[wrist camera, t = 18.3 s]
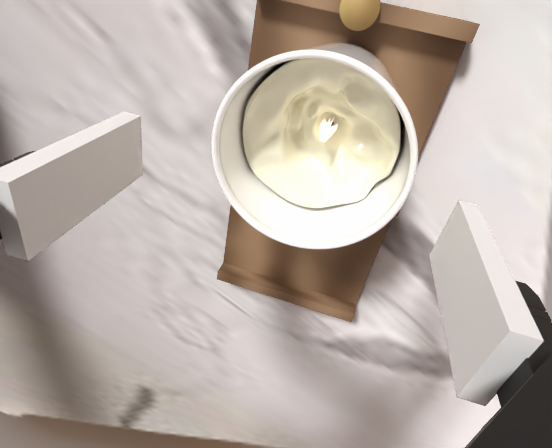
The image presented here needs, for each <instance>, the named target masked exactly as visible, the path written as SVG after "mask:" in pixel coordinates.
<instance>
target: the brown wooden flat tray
mask: <svg viewBox="0 0 552 448" xmlns="http://www.w3.org/2000/svg"><path fill="white" fill-rule="evenodd" d="M479 25H480V24H477V23H473V22H469V21H464V20H460V19H455V18H451V17H446V16H441V15H437V14H432V13H427V12H423V11H418V10H414V9H409V8H404V7H400V6H395V5H391V4H386V3H381V2H380V0H257V5H256V13H255V20H254V28H253V36H252V44H251V52H250V59H249V67H248V70H250V69H251V68H252V67H254V66H255V65H257V64H259V63H260V62H262V61H264V60H266V59H268V58H271V57H273V56H276V55H279V54H282V53H286V52H290V51H296V50H304V49H308V48H311V47H315V46H319V45H323V44H328V43H348V44H353V45H356V46H359V47H362V48H364V49H366V50H368V51H369V52H371V53H372V54H373V55H375V56H376V57H377V58H378V59H379V60H380V61H381V62H382V63H383V65H384V66H385V67H386V69H387V70H388V72H389V74H390V76H391V78H392V80H393V82H394V84H395V86H396V89H397V91H398V93H399V95H400V97H401V98H402V100H403V102H404V103H405V105H406V107H407V109H408V111H409V113H410V116H411V118H412V121H413V124H414V127H415V131H416V136H417V143H418V156H419V153H420V151H421V149H422V146H423V144H424V142H425V139H426V137H427V135H428V132H429V130H430V127H431V125H432V123H433V120H434V118H435V116H436V113H437V111H438V109H439V106H440V104H441V101H442V99H443V97H444V94H445V92H446V90H447V87H448V85H449V83H450V80H451V78H452V75H453V73H454V71H455V68H456V66H457V64H458V61H459V59H460V57H461V54H462V52H463V49H464V47H465V45H466V42H470V43H472V41H473V39H474V37H475V34H476V32H477V30H478V27H479ZM399 211H400V210H399ZM399 211H398V213H399ZM398 213H397V214H396V215H398ZM391 220H392V219H391ZM391 220H390V221H389V222H388V223H387V224H386V225H385V226H384V227H383V228H381V229H380V230H379V231H377V232H376V233H374V234H373V235H371V236H369V237H367V238H365V239H363V240H361V241H359V242H356V243H354V244H351V245H347V246H343V247H339V248H332V249H306V248H299V247H294V246H291V245H287V244H284V243H281V242H279V241H276V240H274V239H272V238H270V237H268V236H266V235H264V234H263V233H261V232H259V231H258V230H256V229H255V228H254V227H252V226H251V225H250V224H249V223H247V222H246V221H245V220H244V219H243V218H242V217H241V216H240V215H239V214H238V213H237V212H236V210H235V209H234V208H233V207H232V205H231V207H230V215H229V223H228V231H227V239H226V246H225V254H224V262H223V264H222V266H221V268H220V269H219V271H218V275H217V279H218V280H222V281H225V282H228V283H231V284H234V285H237V286H240V287H243V288H247V289H250V290H253V291H256V292H259V293H262V294H265V295H268V296H272V297H275V298H278V299H281V300H284V301H287V302H290V303H293V304H296V305H300V306H303V307H306V308H309V309H312V310H315V311H318V312H321V313H325V314H328V315H331V316H334V317H337V318H340V319H343V320H346V321H350V322H352V320H353V318H354V315H355V306H356V302H357V300H358V298H359V295H360V293H361V291H362V288H363V286H364V284H365V281H366V279H367V276H368V274H369V272H370V269H371V267H372V265H373V262H374V260H375V258H376V255H377V253H378V250H379V248H380V246H381V243H382V241H383V239H384V236H385V234H386V231H387V229H388V227H389V224H390V222H391Z"/></svg>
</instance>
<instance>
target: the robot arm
mask: <svg viewBox="0 0 552 448" xmlns="http://www.w3.org/2000/svg"><path fill="white" fill-rule="evenodd" d="M140 176H142V141H141V116H139V115H135V114H132V113H128V112H122V113H119V114H117V115H115V116H113V117H111V118H108V119H106V120H104V121H102V122H99V123H97V124H95V125H93V126H91V127H88V128H86V129H84V130H82V131H80V132H77V133H75V134H73V135H71V136H69V137H66V138H64V139H62V140H60V141H57V142H55V143H53V144H51V145H49V146H46V147H44V148H42V149H40V150H37V151H32V152H28V153H25V154H23V155H21V156H19V157H16V158H14V160H10V161H7V162H5V163H4V164H3V165H2V164H1V165H0V240H1V239H2V242H3V246H4V249H5V252H6V255H10V256H13V257H16V258H19V259H22V260H25V261H29V260H31V259H32V258H33V257H35V256H36V255H37V254H39V253H40V252H41V251H42V250H44V249H45V248H46V247H48V246H49V245H50V244H52V243H53V242H54V241H56V240H57V239H58V238H60V237H61V236H62V235H64V234H65V233H66V232H68V231H69V230H70V229H72V228H73V227H74V226H76V225H77V224H78V223H79V222H81V221H82V220H83V219H85V218H86V217H87V216H89V215H90V214H91V213H93V212H94V211H95V210H97V209H98V208H99V207H101V206H102V205H103V204H105V203H106V202H107V201H109V200H110V199H111V198H113V197H114V196H115V195H117V194H118V193H119V192H120V191H122V190H123V189H124V188H126V187H127V186H128V185H130V184H131V183H132V182H134V181H135V180H136V179H138V178H139V177H140ZM429 257H430V262H431V267H432V272H433V277H434V282H435V287H436V292H437V298H438V303H439V308H440V313H441V318H442V323H443V328H444V333H445V339H446V344H447V349H448V354H449V359H450V364H451V369H452V375H453V380H454V385H455V390H456V395H457V397H458V398H461V399H464V400H467V401H471V402H474V403H477V404H480V405H483V406H486V405H487V404H488V403H489V402H490V400H491V399H492V398H493V397H494V396H495V395H496V394H497V395H498V398H499V402H500V405H501V408H500V410H499V411H498V412H497V413H496V414H495V415H494V416H493V417H492V418H491V419H490V420H489V421H488V422H487V423H486V424H485V425H484V426H483V427H482V429H481V430H480V431H479V433H478V434H477V435H476V436H475V437H474V438H473V439H472V440H471V441H470V442H469V444H468V445H467V446H466V447H465V448H552V323H551V319H550V317H549V315H548V313H547V312H545V310H546V309H545V307H544V306H543V304H542V302H541V300H540V298H539V297H538V295H537V294H536V293H535V292H534V291H533V290H532V289H531V288H530V287H529V286H528V285H527V284H525V283H521V282H518V281H515V279H514V277H513V275H512V273H511V271H510V269H509V267H508V265H507V263H506V261H505V259H504V257H503V254H502V252H501V250H500V248H499V246H498V244H497V242H496V240H495V238H494V236H493V234H492V231H491V229H490V227H489V225H488V223H487V221H486V219H485V217H484V215H483V213H482V211H481V209H480V206H479V205H476V204H472V203H468V202H464V201H461V200H458V202H457V204H456V206H455V208H454V210H453V212H452V214H451V215H450V217H449V219H448V221H447V223H446V225H445V227H444V229H443V231H442V233H441V234H440V236H439V238H438V240H437V242H436V244H435V246H434V248H433V250H432V252H431V253H430V255H429Z"/></svg>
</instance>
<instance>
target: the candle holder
mask: <svg viewBox="0 0 552 448" xmlns="http://www.w3.org/2000/svg"><path fill="white" fill-rule="evenodd" d="M211 151H212V160H213V166H214V170H215V174H216V177H217V180H218V182H219V185H220V187H221V189H222V191H223V193H224V195H225V196H226V198H227V200H228V201H229V203H230V204H231V205H232V207H233V208H234V209H235V210H236V212H237V213H238V214H239V215H240V216H241V217H242V218H243V219H244V220H245V221H246V222H247V223H249V224H250V225H251V226H252V227H254V228H255V229H256V230H258V231H259V232H261V233H263V234H264V235H266V236H268V237H270V238H272V239H274V240H276V241H279V242H281V243H284V244H287V245H291V246H294V247H299V248H306V249H332V248H339V247H343V246H347V245H351V244H354V243H356V242H359V241H361V240H363V239H365V238H367V237H369V236H371V235H373V234H374V233H376V232H377V231H379V230H380V229H381V228H383V227H384V226H385V225H386V224H387V223H388V222H389V221H390V220H391V219H392V218H393V217H394V216H395V215H396V214H397V213H398V211H399V210H400V209H401V207H402V206H403V204H404V202H405V201H406V199H407V197H408V195H409V193H410V191H411V188H412V186H413V183H414V179H415V175H416V171H417V164H418V143H417V136H416V131H415V127H414V124H413V121H412V118H411V116H410V113H409V111H408V109H407V107H406V105H405V103H404V102H403V100H402V98H401V97H400V95H399V93H398V91H397V89H396V86H395V84H394V82H393V80H392V78H391V76H390V74H389V72H388V70H387V69H386V67H385V66H384V65H383V63H382V62H381V61H380V60H379V59H378V58H377V57H376V56H375V55H373V54H372V53H371V52H369V51H368V50H366V49H364V48H362V47H359V46H356V45H353V44H348V43H328V44H323V45H319V46H315V47H311V48H308V49H304V50H296V51H290V52H286V53H282V54H279V55H276V56H273V57H271V58H268V59H266V60H264V61H262V62H260V63H259V64H257V65H255V66H254V67H252V68H251V69H250V70H248V71H247V72H246V73H245V74H243V75H242V76H241V77H240V78H239V79H238V80H237V81H236V82H235V84H234V85H233V86H232V87H231V88H230V90H229V91H228V93H227V94H226V96H225V97H224V99H223V101H222V103H221V105H220V107H219V109H218V112H217V115H216V118H215V121H214V125H213V131H212V140H211Z"/></svg>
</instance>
